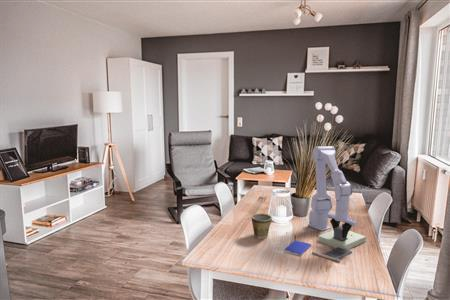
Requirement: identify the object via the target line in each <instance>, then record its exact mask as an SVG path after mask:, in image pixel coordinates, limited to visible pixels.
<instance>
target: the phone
mask: <svg viewBox="0 0 450 300" xmlns="http://www.w3.org/2000/svg"><path fill="white" fill-rule="evenodd" d="M350 254H352V250H350V249H342V248H340V247H337V248H335V247H334V248H333V249H331V250H328V251H325V252H324V255H327V256H330V257H333V258H337V259H340V260H341V258H344V257H346V256H348V255H350Z"/></svg>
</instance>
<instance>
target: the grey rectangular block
mask: <svg viewBox="0 0 450 300" xmlns="http://www.w3.org/2000/svg"><path fill="white" fill-rule="evenodd" d="M334 239H336V240H339V241H341V242H343V241H345V240H346V238H343V228H342V225H339V226H337V227H335V228H334Z"/></svg>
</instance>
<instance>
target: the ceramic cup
mask: <svg viewBox="0 0 450 300" xmlns="http://www.w3.org/2000/svg"><path fill="white" fill-rule="evenodd" d="M272 219H273V218H272V216H271V215H269V214H266V213H255V214H253V215H251V224H252V228H253V236H254V238H257V239H258V238H259V240H264V239H267V238H268V235H269V230H270V226H271V224H272Z"/></svg>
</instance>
